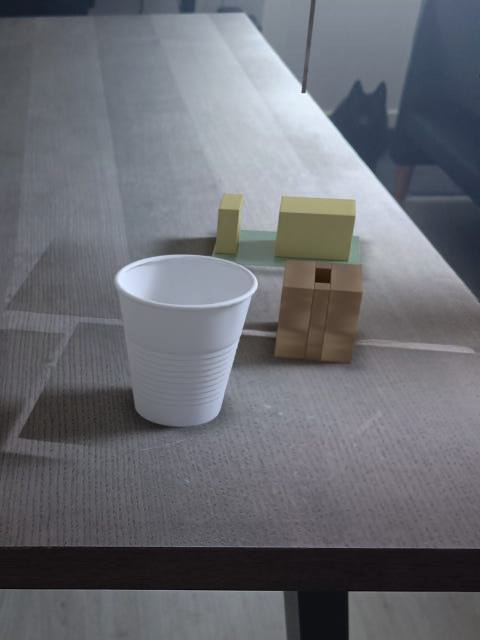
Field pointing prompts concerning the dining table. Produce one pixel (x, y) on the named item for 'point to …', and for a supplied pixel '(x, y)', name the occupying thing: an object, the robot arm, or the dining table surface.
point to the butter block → (315, 228)
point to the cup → (182, 333)
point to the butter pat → (229, 223)
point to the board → (272, 251)
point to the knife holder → (319, 311)
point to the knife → (308, 46)
